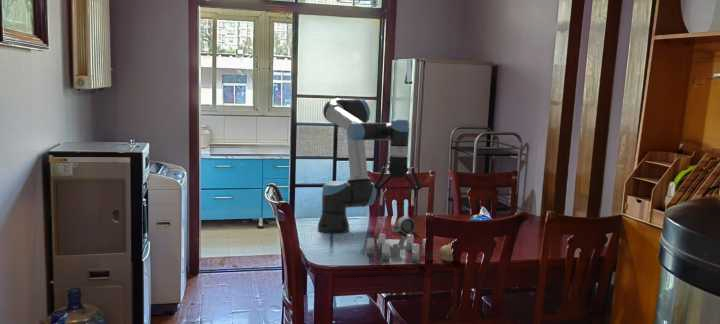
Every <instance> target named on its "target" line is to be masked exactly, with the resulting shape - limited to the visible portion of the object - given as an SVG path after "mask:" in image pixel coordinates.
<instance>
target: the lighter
mask: <svg viewBox="0 0 720 324" xmlns="http://www.w3.org/2000/svg"><path fill="white" fill-rule="evenodd" d="M406 239H407V236H403V235H401V237H400V239H399V240H400V241H399V244H393V246H391V247H390V249H389V258H392V259H393V258H399V257H401V248H400V246H401V247H403V245H404V243H405V240H406Z"/></svg>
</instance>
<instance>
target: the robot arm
mask: <svg viewBox="0 0 720 324" xmlns="http://www.w3.org/2000/svg"><path fill="white" fill-rule="evenodd" d="M370 109H371V108H370V106H369V104H368V102H367V101H366V100H365V99H360V98H332V99H330V100H328V102H326V103H325V105H324V106H323V110H322V114H323V117H324V118H325V120H326V121H328V122H329V123H331V124H335V125H337V126H338V127H340V128H341V129H343V130H345V131H346V138H347V141H346V142H347V152H348V153H347V154H348V167H349V168H348V169H349V178H348V179H347V180H332V181H328V182H326V183H324V184H323V186H322V190H321V191H322V192H321V208H322V209H321V215H320V218H319V221H318V224H317V230H318V231H320V232H322V233H329V234H341V233H347V232H348V231H349V230H350V224H349V219H348V217H347V208H360V207H361V208H365V207H370V206H371V205H373V204H374V202H375V200H376V198H377V197H378V198H379V205H380V206H383V198H384V197H383V196H384V195H383V194H384V192H383V191H384V190H383V188H384V187H385V186H386V184H387V183H388V182H389V181H390V180H391V179H392V178H396V179H398V178H399V179H402V178H404V179H405V180H406V182H407V183H408V184H409V185H410V186H411V188H412V189H411V192H410V193H411V196H410V201H411V202H410V205H411V207H414V206H415V199H416V198H417V197H418V194H417V192H418V190H421V189H422V186H421V184H420V181H419V179H418V177H417V175H416V173H415V171H416V170H415V167H413V166H412V167H408V157H407V156H408V155H409V154H408V153H409V133H410V132H409V131H410V122H409V120H408V119H392V120H391V122H368V121H370V117H371V110H370ZM365 141H390V144H389V145H390V147H389V154H390V156H389V164H388V165H389V166H388V167H387V166H382V167H381V172H380V173H379V176H378V177H377V179H376V180H375V182H372V178H371V177H369V176H368V165H367V164H368V163H367V155H366V142H365ZM387 172H389V174H388V175H387V176H386V177H385V179H384V180H383V181H382V179H383V177H384V175H385V173H387ZM408 172H409V173H410V174H411V176H412V179H413V181H414V183H415V184H414V183H413V182H412V180H411V179H410V178H409V176H408V175H407V173H408ZM381 181H382V182H381Z"/></svg>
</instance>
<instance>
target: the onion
mask: <svg viewBox="0 0 720 324" xmlns="http://www.w3.org/2000/svg"><path fill="white" fill-rule="evenodd" d="M451 243H452V242H451ZM451 243H450V242H447V244H445V245H443V246H441V247H440V249H439V250H438V255H439V257H440V259H441V261H442V260H443V261H442V262H445V261H447V263H452V262H451V261H452V249H451Z"/></svg>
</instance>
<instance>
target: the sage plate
mask: <svg viewBox="0 0 720 324" xmlns="http://www.w3.org/2000/svg"><path fill="white" fill-rule="evenodd" d="M375 241H376V245H377V246H378V238H377V239H375ZM399 241H400V239H391V238H390V239H387V238H386V239H385V243H389V244H390V247H391V246H393V244H399ZM400 249H405V250H406V240H405V243H404V245H403V247H401V246H400Z"/></svg>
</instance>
